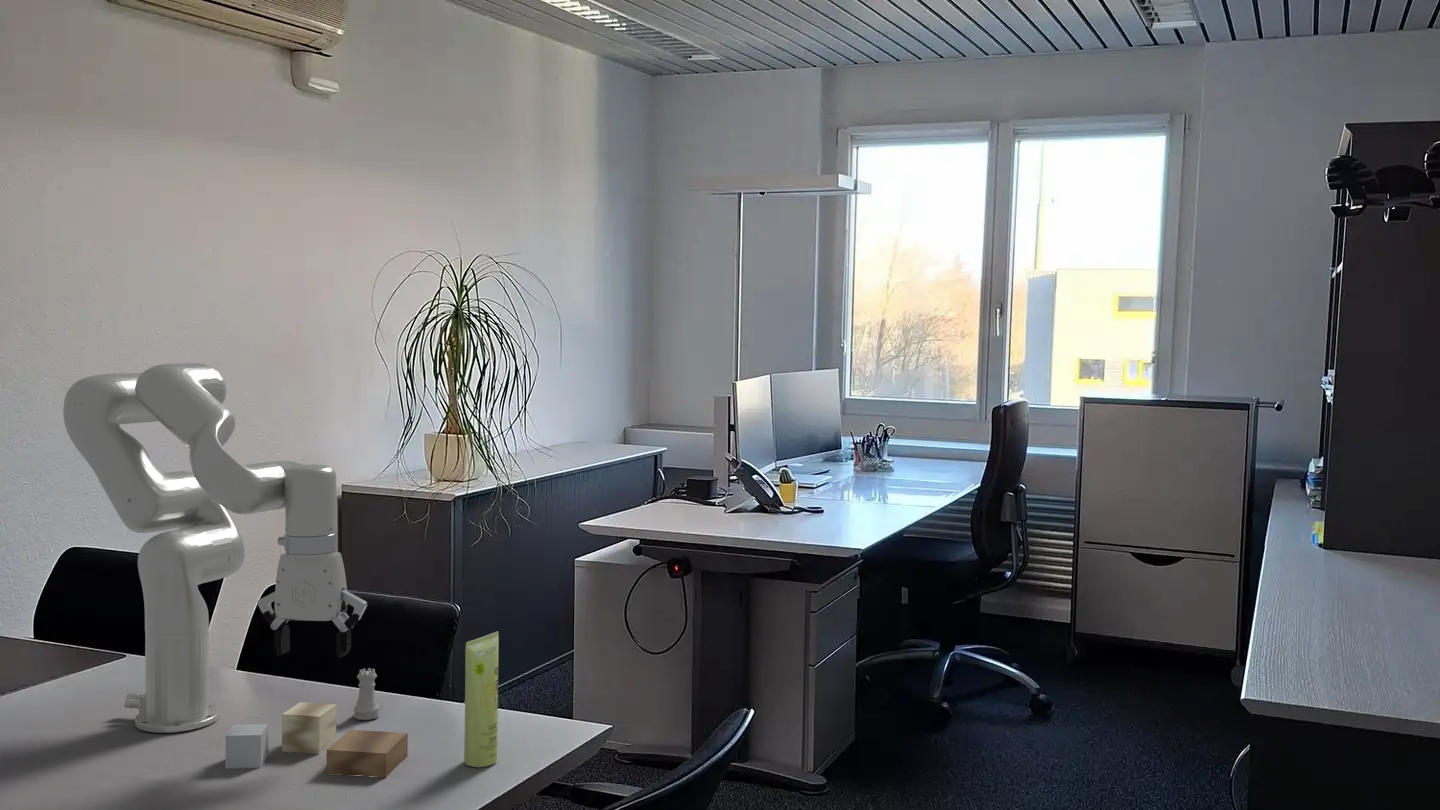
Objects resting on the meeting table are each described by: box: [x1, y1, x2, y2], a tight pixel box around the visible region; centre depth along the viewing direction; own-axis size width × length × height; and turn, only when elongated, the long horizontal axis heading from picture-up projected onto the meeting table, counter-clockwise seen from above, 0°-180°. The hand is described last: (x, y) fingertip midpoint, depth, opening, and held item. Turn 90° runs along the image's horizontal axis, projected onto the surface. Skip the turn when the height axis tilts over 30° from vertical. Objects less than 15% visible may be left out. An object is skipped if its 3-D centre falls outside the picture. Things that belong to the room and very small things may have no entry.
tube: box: [463, 631, 500, 768], centre depth 182 cm, size 6×5×20 cm
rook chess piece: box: [352, 667, 381, 721], centre depth 202 cm, size 4×4×8 cm
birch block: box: [281, 701, 337, 755], centre depth 187 cm, size 6×6×6 cm
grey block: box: [225, 723, 269, 770], centre depth 180 cm, size 5×5×5 cm
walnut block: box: [325, 729, 409, 778], centre depth 180 cm, size 9×9×4 cm
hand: (312, 654), depth 187 cm, fingers open, 9 cm apart
